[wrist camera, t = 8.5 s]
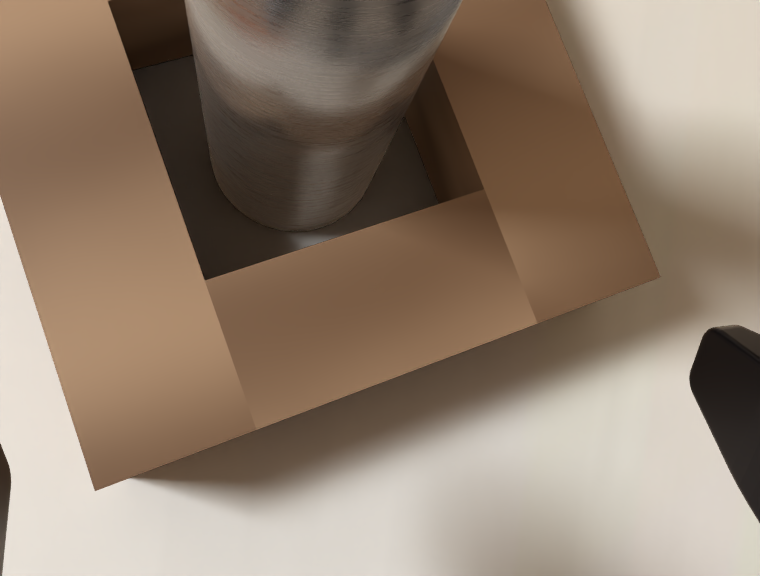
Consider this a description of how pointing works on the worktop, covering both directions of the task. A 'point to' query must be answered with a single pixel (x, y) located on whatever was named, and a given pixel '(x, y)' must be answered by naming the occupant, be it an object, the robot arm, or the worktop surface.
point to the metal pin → (307, 96)
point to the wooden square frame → (302, 267)
